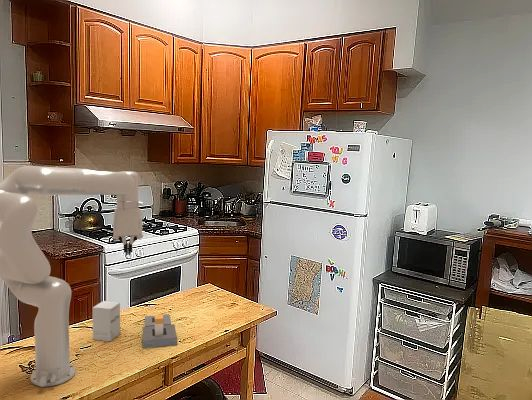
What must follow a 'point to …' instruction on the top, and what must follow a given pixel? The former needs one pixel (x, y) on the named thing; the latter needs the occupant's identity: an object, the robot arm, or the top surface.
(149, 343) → the port
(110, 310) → the supplement box
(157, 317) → the plug
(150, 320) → the grey slotted plate
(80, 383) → the top surface
